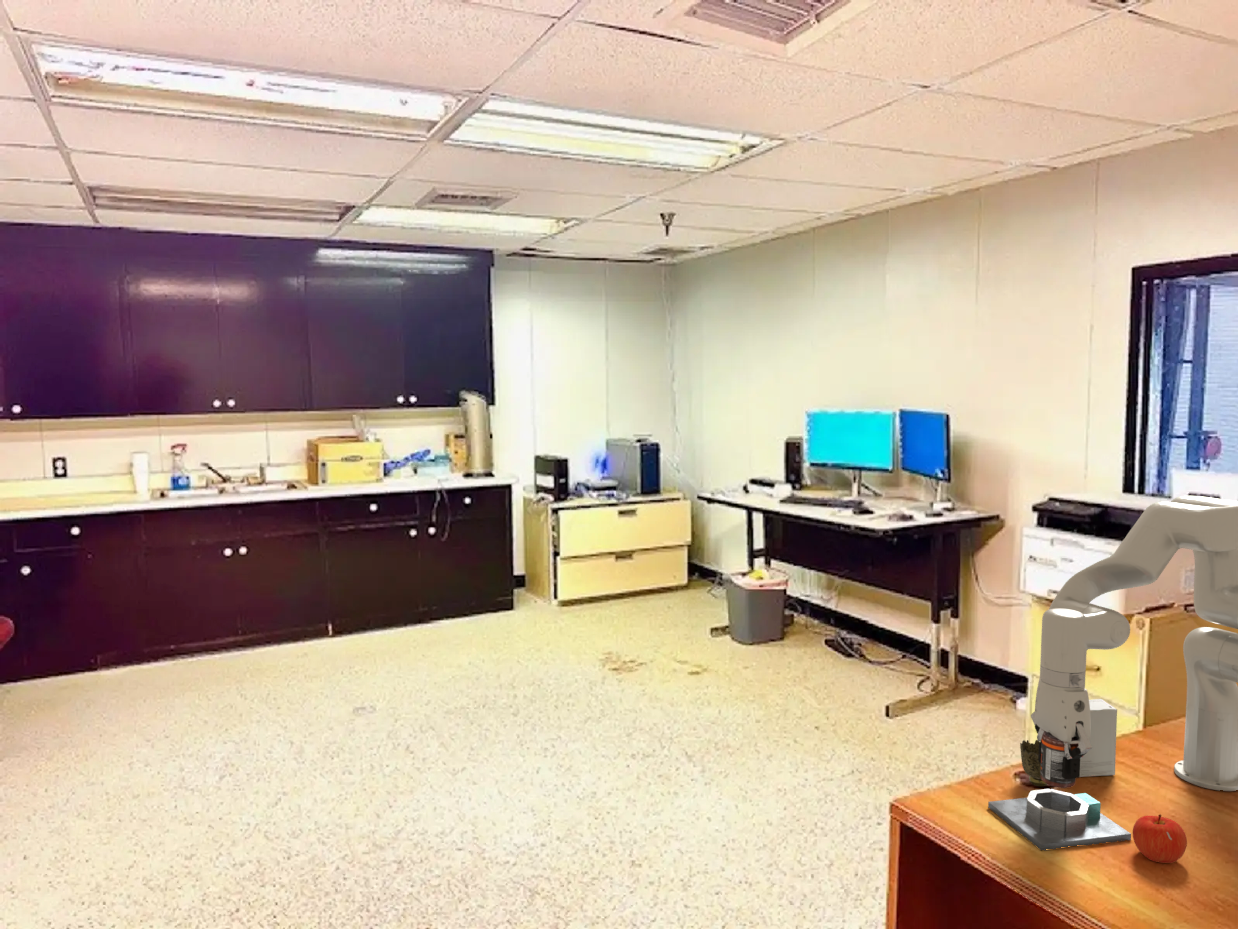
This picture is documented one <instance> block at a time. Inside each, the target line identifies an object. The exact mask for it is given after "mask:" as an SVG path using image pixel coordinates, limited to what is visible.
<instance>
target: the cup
mask: <svg viewBox="0 0 1238 929" xmlns="http://www.w3.org/2000/svg"><path fill="white" fill-rule="evenodd" d="M1039 742H1040V741H1038V740H1037V739H1035V742H1032V743H1031V742H1030V740H1025V739H1023V740H1022V741H1021V742H1020V743H1019V744H1020V745H1019V746H1020V747H1019V748H1020V758H1021V765H1022V768H1023V771H1024V772H1025V774H1027V775H1028V776H1029V777H1028V780H1029V782H1030V783H1031V784H1032V785H1034V786H1036V787H1047V785H1048V784H1046V783H1045V782H1043V781H1042V779H1041V774H1040V772H1041V763H1040V762H1039V761H1038V754H1039Z"/></svg>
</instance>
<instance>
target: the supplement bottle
mask: <svg viewBox="0 0 1238 929" xmlns="http://www.w3.org/2000/svg"><path fill="white" fill-rule="evenodd" d="M1049 731H1050V730H1049ZM1072 740H1074V738H1073V737H1072ZM1070 747H1071V751H1072V750H1073V749H1074V748H1075V746H1074V744H1070ZM1063 757H1066V756H1065V751H1064V746H1063V741H1061V740H1059V739H1058V738H1056V737H1054V736H1053V735H1052V734H1051V733H1050V732H1044V733H1043V735H1042V743H1041V772H1040V774H1041V779H1042V781H1043V782H1045V783H1046V784H1047V785H1048V786H1051V787H1055V788H1057V789H1058V788H1059V789H1068V788H1072V787H1075V785H1076V781H1077V780H1076V779H1077V778H1074V779H1064V778H1063V777H1062V765H1063Z"/></svg>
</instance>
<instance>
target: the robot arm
mask: <svg viewBox="0 0 1238 929" xmlns="http://www.w3.org/2000/svg"><path fill="white" fill-rule="evenodd" d="M1180 549H1187V550H1192V552H1193V557H1194V558H1193V559H1194V575H1193V577H1194V578H1193V580H1194V581H1193V607H1194V611H1195V613H1196V615H1197V616H1198V617H1199V618H1200V619H1202V620H1204V621H1207V622H1209V623H1213V624H1216V625H1221V626H1224V627H1229V628H1231V629H1235V630H1238V500H1233V499H1225V498H1224V499H1222V498H1216V497H1209V496H1202V495H1182V496H1177V497H1175V498H1174V499H1172V500H1171V501H1159V502H1155V503H1152V504H1150V505H1149V506H1148V507H1146V509H1144V510H1143V512H1142V513H1141V515H1140V517H1139V518H1137V521H1136V522H1135V523H1134V525H1133V526H1131V529H1130V530H1129V531H1128V533H1127V534H1126V536H1125V538H1123V539H1122V541H1121V543H1120V544H1119V545H1118V547H1117V549H1116V550H1115V551H1114V552H1113V554H1112V555H1110V556H1108V557H1106V558H1104V559H1101V560H1098V561H1097V562H1095V563H1093V564H1091V565H1089V566H1087V567H1086V568H1083V569H1082V570H1079V571H1078V572H1077V573H1075V574H1074V575H1072V576H1071V577H1070V578H1069V579H1068V580H1067V581H1066V582H1065V583H1064V584H1063V586H1062V587H1061V589H1059V591H1058V593H1057V594H1056V596H1055V597H1054V598H1053V601H1052V602H1051V604H1050V606H1049V608H1048V609H1047V610H1045V612H1043V614H1042V619H1041V634H1040V635H1041V638H1040V641H1041V642H1040V643H1041V644H1040V664H1039V666H1040V667H1039V680H1038V684H1037V688H1036V696H1035V700H1034V701H1035V704H1034V711H1033V712H1032V713H1031V714H1030V718H1031V720H1032V722H1033V724H1034V729H1035V732H1036V734H1037V735H1036V740H1038V741H1039V754H1038V761H1039V762H1040V763H1041V743H1042V735H1043V733H1044V732H1050V733H1051V734H1052V735H1053V736H1054V737H1056V738H1058V739H1059V740H1061V741H1063V746H1064V751H1065V756H1066V757H1063V765H1062V777H1063V778H1064V779H1074V778H1076V779H1079V778H1080V777H1079V776H1080V758H1083V755H1085V754H1086V753H1087V752H1088V751H1090V750H1091V749H1092V745H1091V743H1090V741H1089V740H1090V733H1091V720H1090V704H1089V700H1090V698H1089V693H1088V689H1086V671H1087V670H1086V668H1087V651H1088V650H1105V651H1106V650H1114V649H1117V648H1119V647H1121V646H1123V645H1124V644H1125V643H1126V642H1127V641H1128V639H1129V637H1130V635H1131V625H1130V622H1129V620H1128V619H1127V617H1126V616H1125V615H1124V614H1122V613H1121V612H1119V611H1117V610H1114V609H1112V608H1108V607H1104V606H1101V605H1097V604H1094V603H1091V602H1092V601H1093V600H1095V599H1097V598H1098V597H1100V596H1102V595H1104V594H1107V593H1111V592H1115V591H1119V590H1126V589H1127V590H1128V589H1132V588H1138V587H1143V586H1148V585H1151V584H1153V583H1155V582H1156V581H1157V580H1158V579H1159V578H1160V576H1161V574H1162V573H1163V571H1164V570H1165V569H1166V567H1167V566H1168V564H1169V563H1170V562H1171V560H1172V559H1173V558H1174V556H1175V555H1176V553H1177V552H1178V550H1180ZM1182 650H1183V658H1184V664H1185V672H1186V704H1185V721H1184V723H1185V725H1184V744H1183V760H1179V761H1177V762H1176V763H1174V766H1173V767H1174V769H1173V770H1174V773H1175V774H1176V776H1177V777H1179V778H1180V779H1182V780H1184V781H1186V782H1187V783H1189V784H1192V785H1194V786H1198V787H1200V788H1204V789H1209V790H1215V791H1220V790H1223V792H1237V791H1236V790H1238V633H1237V632H1233V631H1229V630H1225V629H1221V628H1217V627H1211V626H1210V627H1209V626H1208V627H1207V626H1201V627H1197V628H1194V629H1192V630H1191V631H1190V632H1188V633H1187V635H1186V636H1185V638H1184V641H1183V646H1182ZM1049 730H1050V731H1049ZM1072 737H1073V738H1074V740H1072ZM1070 744H1074V746H1075V748H1074V749H1073V750H1072V751H1071V747H1070Z"/></svg>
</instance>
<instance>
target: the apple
mask: <svg viewBox="0 0 1238 929" xmlns="http://www.w3.org/2000/svg"><path fill="white" fill-rule="evenodd" d="M1132 838H1133V842H1134V844H1135V846H1136V848H1137V849H1138V851H1139V853H1141V854H1142V855H1143V856H1144V857H1146V858H1147V859H1149V860H1150V861H1152V862H1156V863H1162V864H1163V863H1164V864H1173V863H1175V862H1177V861H1178V860H1181V858H1182V857H1183V856H1184V854H1185V852H1186V850H1187V847H1188V840H1187V834H1186V832H1185V831H1184V829H1183V827H1182V826H1181V825H1180V824H1179V823H1178V822H1177V821H1175V820H1174V819H1170V818H1167V817H1165V816H1162V814H1161V813H1159V814H1158V815H1143V816H1141V817H1139V818H1138V819H1137V820H1136V821H1135V823H1134V824H1133V827H1132Z"/></svg>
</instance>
